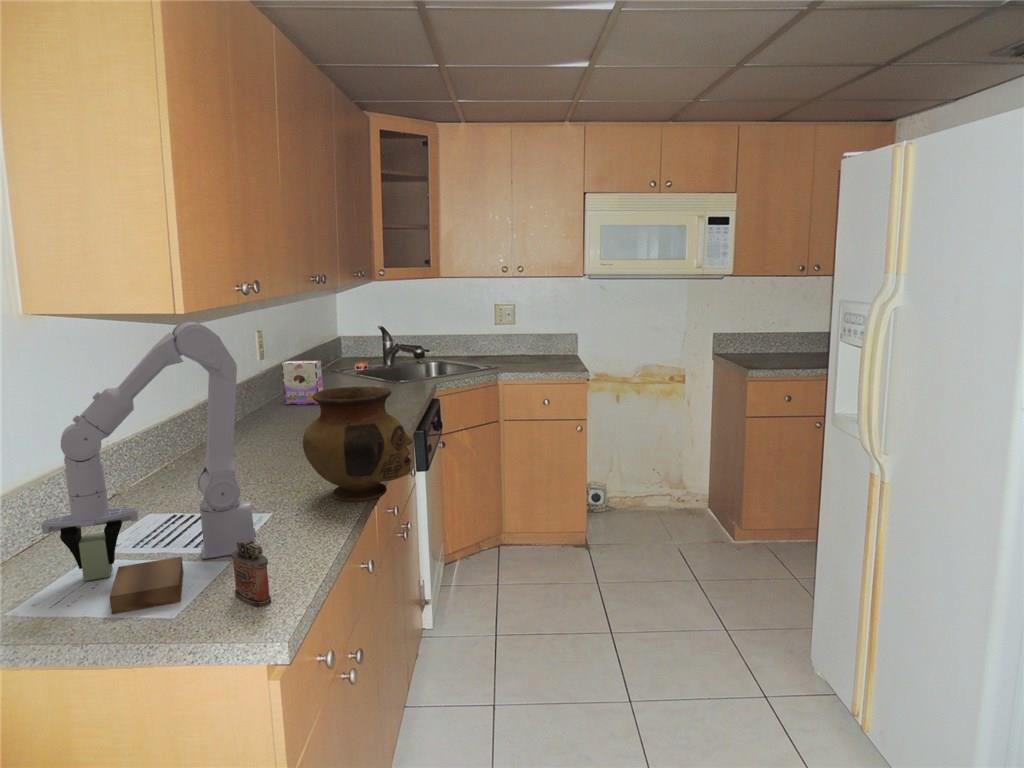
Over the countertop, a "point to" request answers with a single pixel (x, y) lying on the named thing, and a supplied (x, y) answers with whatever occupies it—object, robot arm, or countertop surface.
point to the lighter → (251, 574)
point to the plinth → (147, 585)
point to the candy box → (301, 381)
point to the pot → (356, 442)
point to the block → (94, 556)
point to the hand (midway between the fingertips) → (97, 564)
